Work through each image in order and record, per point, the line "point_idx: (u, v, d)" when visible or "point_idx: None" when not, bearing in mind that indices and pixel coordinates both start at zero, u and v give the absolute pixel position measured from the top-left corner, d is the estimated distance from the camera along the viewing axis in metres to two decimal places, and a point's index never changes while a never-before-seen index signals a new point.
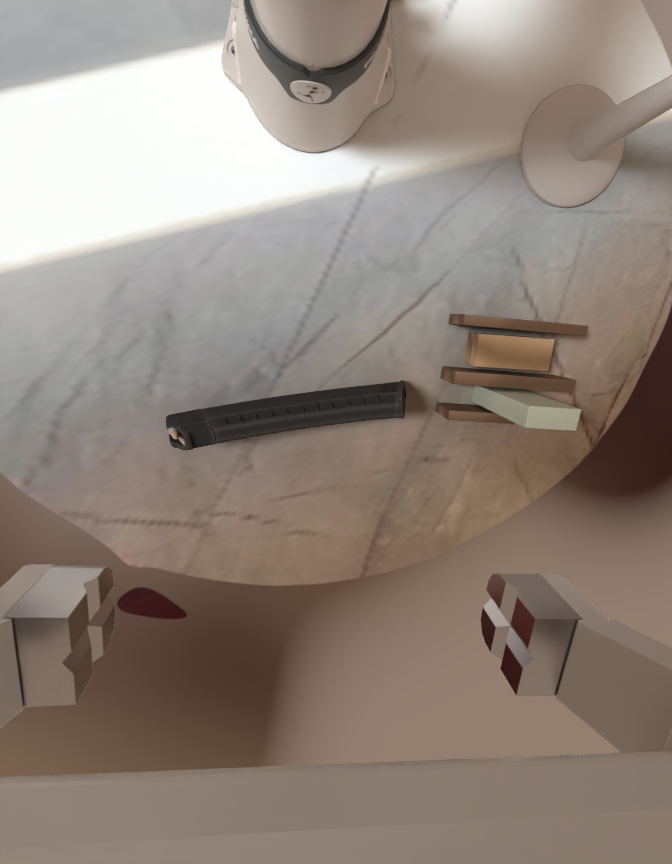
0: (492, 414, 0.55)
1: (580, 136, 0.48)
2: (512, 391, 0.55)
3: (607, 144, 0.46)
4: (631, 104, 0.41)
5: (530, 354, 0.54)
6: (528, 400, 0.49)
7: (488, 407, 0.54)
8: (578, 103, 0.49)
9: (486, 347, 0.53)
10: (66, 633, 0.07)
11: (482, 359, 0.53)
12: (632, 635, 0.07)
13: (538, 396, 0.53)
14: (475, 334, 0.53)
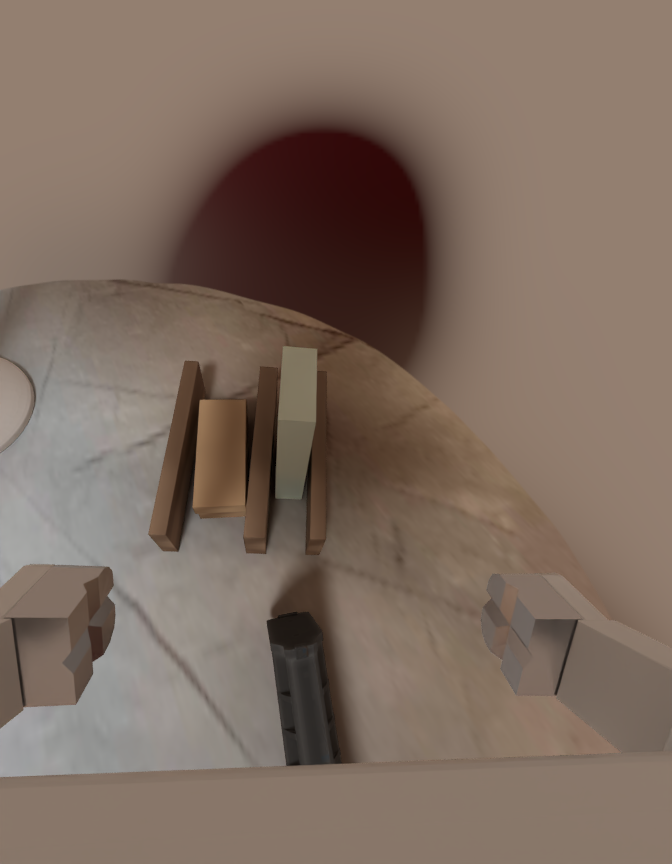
0: (313, 469, 0.35)
1: None
2: None
3: None
4: None
5: (222, 427, 0.37)
6: None
7: (302, 477, 0.35)
8: None
9: (214, 491, 0.34)
10: (66, 633, 0.07)
11: (233, 494, 0.34)
12: (632, 635, 0.07)
13: None
14: (196, 511, 0.34)
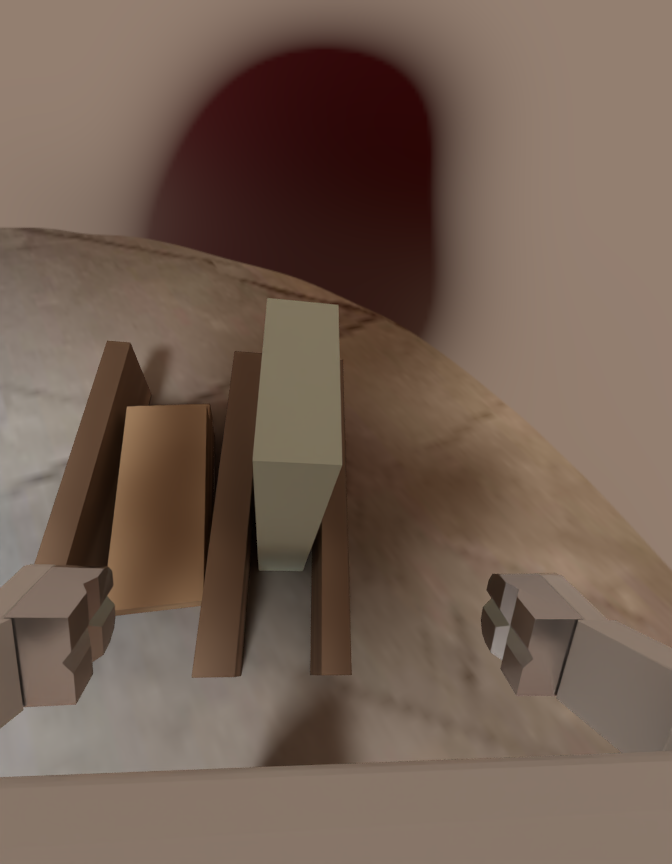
0: (325, 532, 0.20)
1: None
2: None
3: None
4: None
5: (165, 453, 0.21)
6: None
7: (305, 547, 0.19)
8: None
9: (145, 576, 0.18)
10: (66, 633, 0.07)
11: (182, 580, 0.19)
12: (632, 635, 0.07)
13: None
14: None
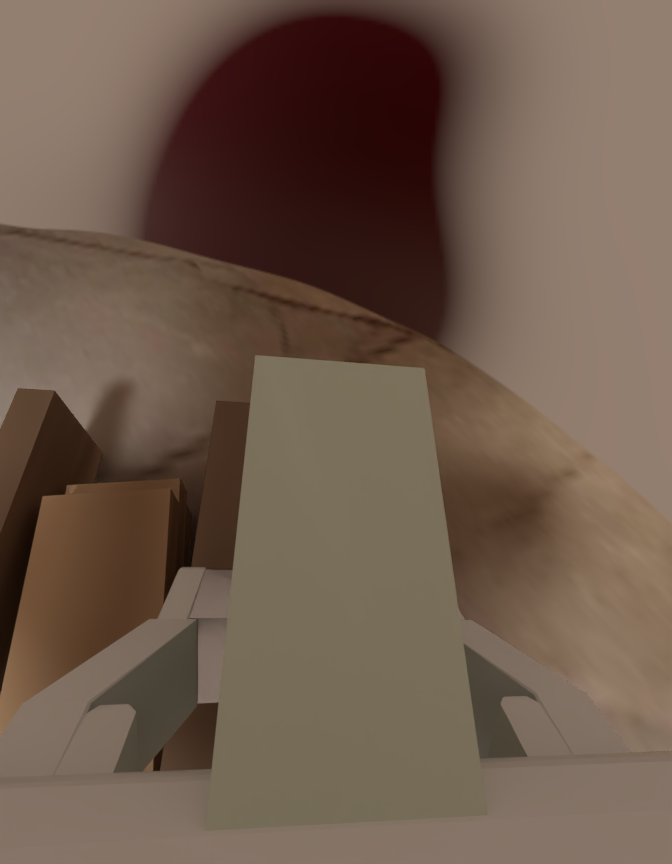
0: None
1: None
2: None
3: None
4: None
5: (98, 578, 0.13)
6: None
7: None
8: None
9: None
10: None
11: None
12: (481, 635, 0.07)
13: None
14: None
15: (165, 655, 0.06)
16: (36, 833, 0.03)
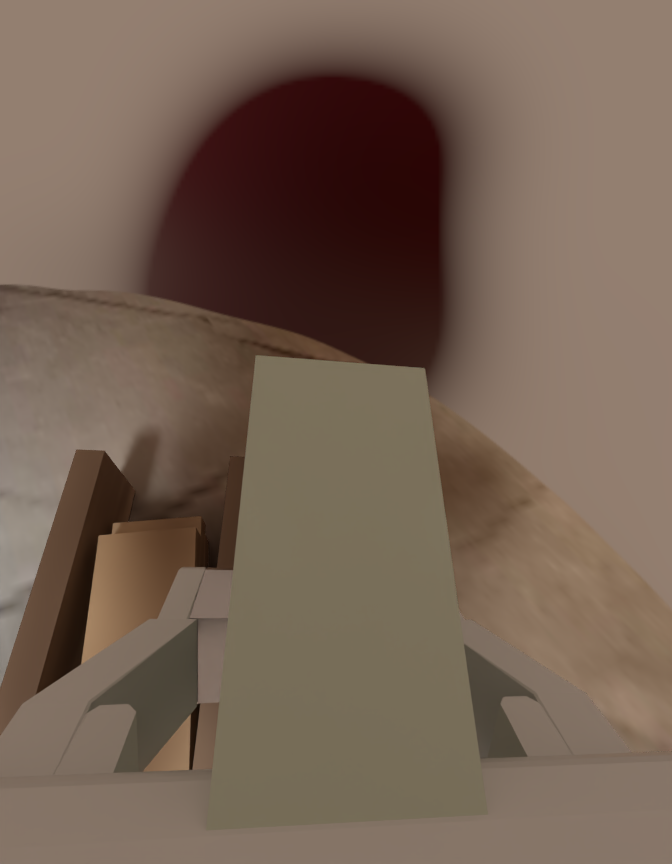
0: None
1: None
2: None
3: None
4: None
5: (144, 599, 0.17)
6: None
7: None
8: None
9: None
10: None
11: None
12: (481, 635, 0.07)
13: None
14: None
15: (165, 655, 0.06)
16: (36, 833, 0.03)
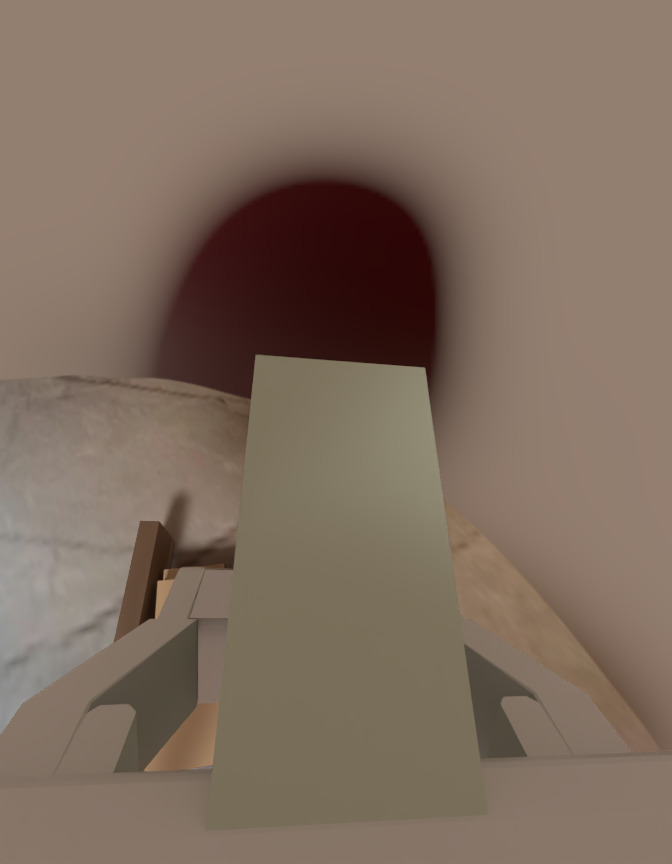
0: None
1: None
2: None
3: None
4: None
5: None
6: None
7: None
8: None
9: (176, 743, 0.23)
10: None
11: (205, 745, 0.23)
12: (481, 635, 0.07)
13: None
14: None
15: (165, 655, 0.06)
16: (36, 833, 0.03)
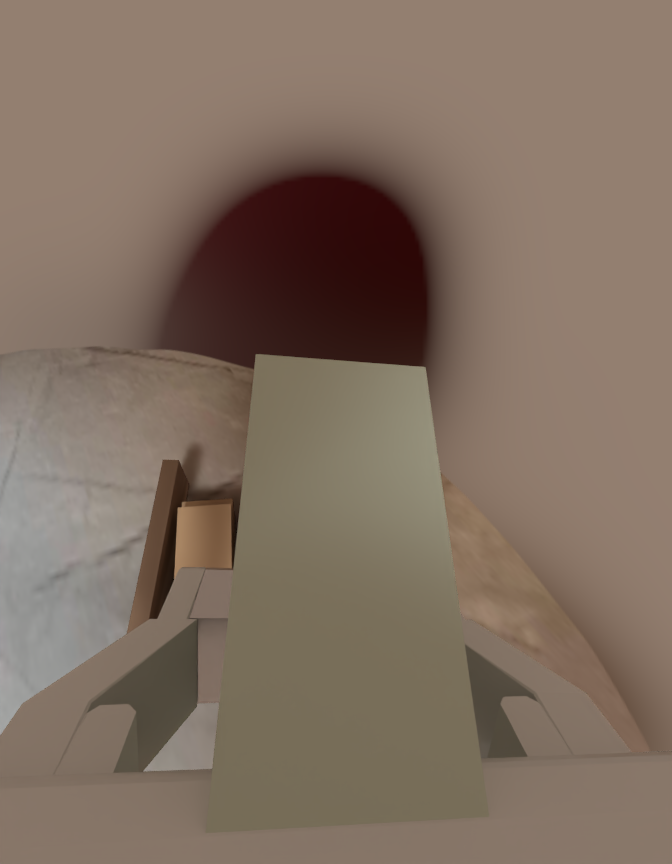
0: None
1: None
2: None
3: None
4: None
5: (204, 541, 0.32)
6: None
7: None
8: None
9: None
10: None
11: None
12: (481, 635, 0.07)
13: None
14: None
15: (165, 655, 0.06)
16: (36, 833, 0.03)
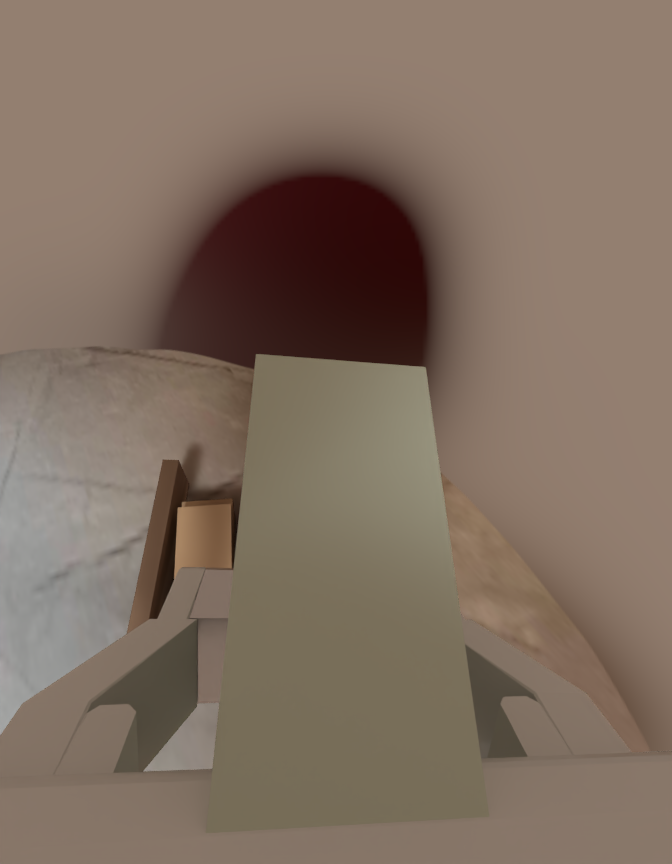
0: None
1: None
2: None
3: None
4: None
5: (204, 541, 0.32)
6: None
7: None
8: None
9: None
10: None
11: None
12: (481, 635, 0.07)
13: None
14: None
15: (165, 655, 0.06)
16: (36, 833, 0.03)
